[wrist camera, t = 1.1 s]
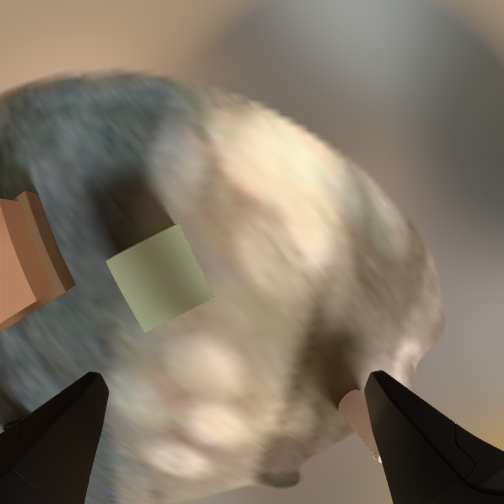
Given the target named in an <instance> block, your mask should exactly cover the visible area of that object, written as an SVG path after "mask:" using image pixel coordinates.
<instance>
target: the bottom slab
mask: <svg viewBox="0 0 504 504" xmlns="http://www.w3.org/2000/svg"><path fill="white" fill-rule="evenodd" d="M13 201H18V202H19V206H20V209H21V212H22V216H23V219H24V222H25V225H26V228H27V231H28V233H29V236H30V239H31V242H32V244H33V247H34V249H35V252H36V254H37V257H38V259H39V262H40V264H41V266H42V269H43V271H44V273H45V275H46V278H47V280H48V282H49V284H50V286H51V288H52V291H50V292H49V293H47V294H46V295H44V296H43V297H41V298H40V299H39V300H37V301H35V302H34V303H32V304H31V305H29V306H27V307H26V308H24V309H22V310H21V311H19V312H18V313H16V314H14V315H13V316H11V317H10V318H8V319H6V320H5V321H3V322H2V323H0V331H1V332H2V331H4V330H5V329H7V328H8V327H10V326H11V325H13V324H14V323H16V322H18V321H19V320H21V319H22V318H24V317H25V316H27V315H29V314H30V313H32V312H33V311H35V310H37V309H38V308H40V307H42V306H43V305H45V304H47V303H48V302H50V301H52V300H53V299H55V298H57V297H58V296H60V295H62V294H63V293H65V292H67V291H68V290H69V289H70V288H72V287H73V286H74V285H76V284H75V282H74V280H73V278H72V276H71V274H70V272H69V270H68V268H67V266H66V264H65V262H64V259H63V257H62V255H61V253H60V250H59V248H58V246H57V243H56V241H55V239H54V236H53V234H52V231H51V229H50V226H49V223H48V221H47V218H46V215H45V212H44V210H43V207H42V204H41V201H40V198H39V195H38V194H36V193H32V192H28V191H24V192H22V193H21V194H20V195H18V196H17V197H16V198H14V199H13Z"/></svg>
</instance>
